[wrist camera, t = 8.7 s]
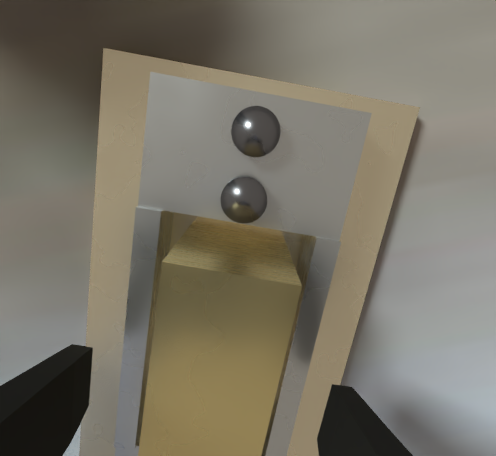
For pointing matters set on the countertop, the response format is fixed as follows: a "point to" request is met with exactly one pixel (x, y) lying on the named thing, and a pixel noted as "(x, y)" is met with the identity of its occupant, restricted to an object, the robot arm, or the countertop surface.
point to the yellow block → (218, 342)
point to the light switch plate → (233, 221)
